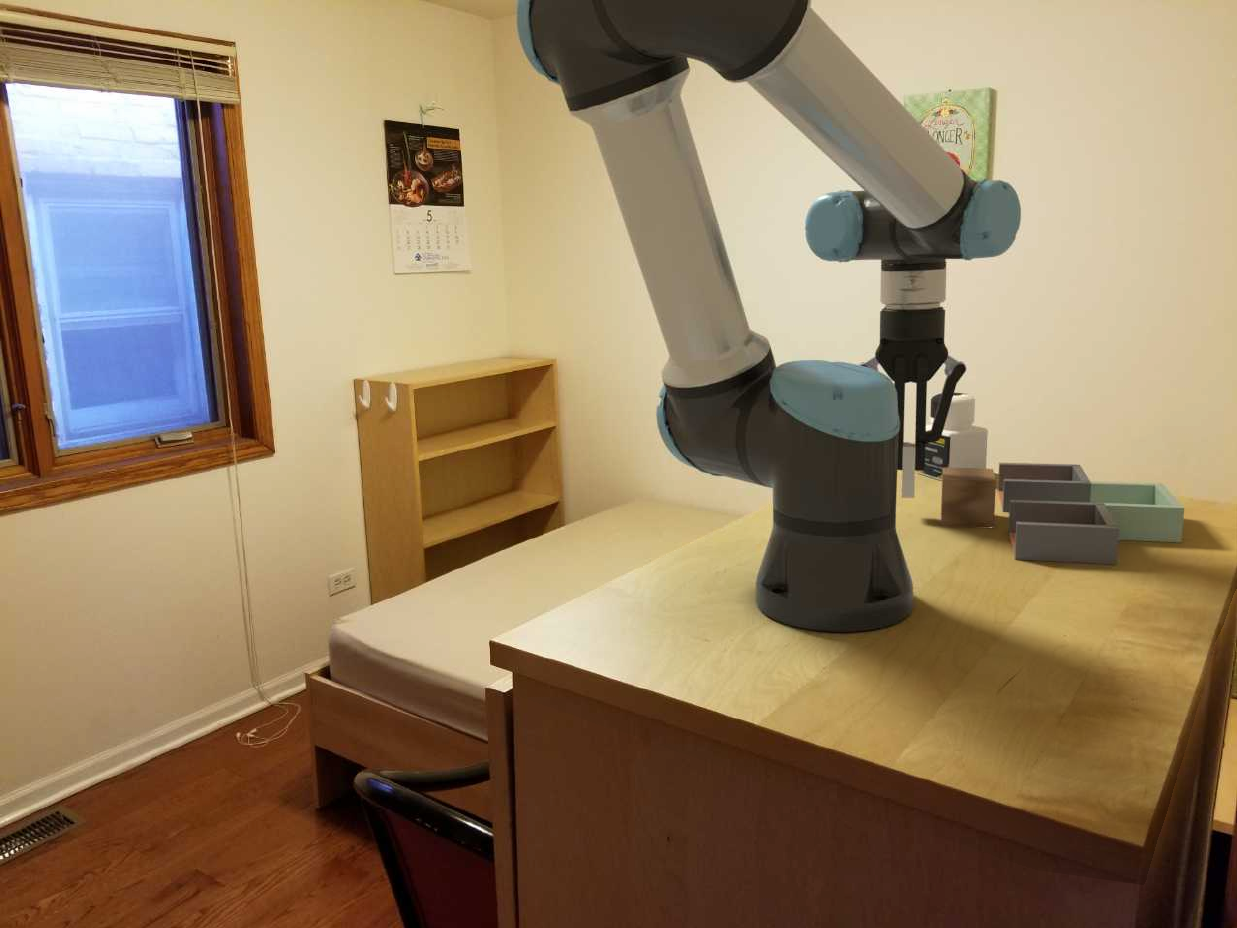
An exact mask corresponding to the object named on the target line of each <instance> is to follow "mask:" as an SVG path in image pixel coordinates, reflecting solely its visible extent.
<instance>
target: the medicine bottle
mask: <svg viewBox="0 0 1237 928" xmlns="http://www.w3.org/2000/svg"><path fill="white" fill-rule="evenodd" d="M941 394H942V392H941V393H937V394H935V395H933V396H932V397H931V399H930V417H929V420H930V421H929V422H930V423H931V424H926V431H929V430H931V428H932V425H933V422H934V418H935V415H936V411H937V408H938V404H939V401H940V397H941ZM975 404H976V399H975V397H974V396H972V395H970V394H968V393H963V392H954V394H953V398H952V401H951V405H950V408H949V412H948V415H947V418H946V422H945V425H944V429H943V432H942V435H941V438H940V440H939V441H933V442H930V443H928V444H927V445H926V447H925V467H924V469H923V471H916V470H915V474H918V475H921V476H925V477H927V478H931V479H935V480H938V481H941V482H942V468H976V469H987V457H988V454H987V453H988V433H989V432H988V431H989V430H988V428H986V427H981V426H975V425H973V424H974V423H975V410H976V409H975V408H976V405H975Z"/></svg>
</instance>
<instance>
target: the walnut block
mask: <svg viewBox="0 0 1237 928" xmlns="http://www.w3.org/2000/svg"><path fill="white" fill-rule="evenodd" d="M996 485H997V479H996V476H995V472H994V469H993V468H986V469H976V468H942V481H941V499H940V500H941V508H940V517H941V518H940V522H941V524H940V525H941V527H951V528H952V527H953V528H973V527H987V528H986V529H989V528H988V527H994V528H995V514H996V513H995V512H996V511H995V510H996V509H995V508H996V489H997V488H996V487H997V486H996Z"/></svg>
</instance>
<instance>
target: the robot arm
mask: <svg viewBox="0 0 1237 928" xmlns="http://www.w3.org/2000/svg"><path fill="white" fill-rule="evenodd" d="M516 1H517V2H516V9H515V18H516V29H517V35H518V40H519V43H520V45H521V47H522V50H523V53H524V55H525V56H526V58H527V60H528V61H529V63H530V65H531V66H532V67H533V69H534V70H535V71H536V72H537V73H538V74H539V75H543V76H545V78H546V79H547V81H549V82H552V83H553V84H556V85H558V86H560V88H561V90H562V93H563V96H564V99H565V102H566V105H567V106H566V107H567V108H568V110H569V113H570V115H571V116H573V117H575V118H577V119H579V120H581V121H582V122H584V123H586V124H588V125H589V126H590V127H591V128H592V130H593V133H594V136H595V139H596V142H597V145H598V149H599V151H600V154H601V157H602V159H603V163H604V165H605V168H606V172H607V175H608V177H609V181H610V184H611V187H612V189H613V192H614V195H615V198H616V202H617V204H618V207H619V211H620V213H621V217H622V219H623V222H624V226H625V228H626V230H627V233H628V237H629V239H630V242H631V245H632V249H633V252H634V255H635V257H636V260H637V264H638V266H639V269H640V273H641V275H642V278H643V281H644V285H645V286H646V289H647V292H648V296H649V299H650V302H651V304H652V308H653V312H654V314H655V317H656V319H657V323H658V325H659V329H660V331H661V334H662V337H663V339H664V344H665V346H666V349H667V352H668V355H669V356H668V359H667V361H666V363H665V364H664V366H663V368H662V370H661V379H662V383H663V384H662V386H661V389H660V390H659V391H660V392H659V395H658V397H659V398H660V403H659V404H657V406H656V412H655V413H656V414H655V415H656V423H657V428H658V431H659V434H660V437H661V440H662V442H663V443H664V445H665V447H666V448H667V449H668V451H669V453H671V454H672V455H673V457H675V458H676V459H677V460H678V461H679V462H681V463H682V464H684V465H686V466H689V467H691V468H693V469H696V470H698V471H699V472H701V473H703V474H709V475H711V476H716V477H725V478H726V477H727V478H730V479H734V480H739V481H742V482H746V483H751V484H754V485H758V486H761V487H765V488H770V489H772V528H771V532H770V536H769V539H768V542H767V546H766V548H765V551H764V554H763V557H762V561H761V563H760V565H759V568H758V572H757V575H756V578H755V579H756V581H755V603H756V604H755V605H756V606H757V608H758V609H759V610H760V612H762V613H763V614H764V615H766V616H768V617H769V618H770V619H772V620H775V621H777V622H780V623H783V624H786V625H789V626H793V627H796V628H802V629H806V630H812V631H824V632H837V633H838V632H840V633H841V632H843V633H845V632H863V631H871V630H876V629H880V628H881V629H882V628H885V627H888V626H892V625H894V624H897V623H899V622H901V621H903V620H904V619H906V618H907V617H908V616H910V614H911V613H912V611H913V609H914V608H913V607H914V584H913V581H912V577H911V574H910V571H909V568H908V564H907V560H906V559H905V555H904V551H903V549H902V546H901V542H900V539H899V537H898V533H897V526H896V524H897V523H896V521H897V519H896V518H897V491H898V489H897V488H898V471H901V473H902V474H901V476H902V477H901V478H902V479H901V498H907V499H915V486H916V483H915V480H916V479H915V477H916V476H915V475H916V471H923V469H924V467H925V447H926V445H927V444H928V443H930V442H933V441H939V440H940V438H941V435H942V432H943V429H944V425H945V422H946V418H947V415H948V412H949V408H950V405H951V401H952V398H953V394H954V393H955V390H956V387H957V384H958V383H959V382H960V380H961V378H962V377H963V376H964V374H965V373H966V371H967V366H966V364H965V362H964V361H958V359H955V358H954V357H952V356H950V355H949V350H948V347H947V346H946V344H945V332H946V331H945V329H946V309H944V307H943V306H941V304H942V303H944V302H945V301H946V300H947V299H946V297H947V295H946V294H947V290H946V289H947V260H963V261H964V260H965V261H971V260H973V259H974V260H975V259H985V258H987V259H988V258H995V257H998V256H1001V255H1003V254H1005V253H1006V252H1007V251H1008V250H1009V249H1010V248H1011V246H1013V244H1014V242H1015V241H1016V237H1017V234H1018V231H1019V230H1020V226H1021V219H1022V208H1021V202H1020V198H1019V196H1018V194H1017V193H1018V192H1017V190H1015V188H1014V187H1013V185H1012V184H1010V183H1009V182H1007V181H1004V180H1002V179H1001V180H999V179H997V180H996V179H995V180H993V179H992V180H991V179H989V178H982V179H980V180H974V179H972V178H971V176H969V175H968V174H967V173H966V171H965V170H964V169H962V168H961V166H960V165H959V163H957V162H956V161H955V159H953V158H952V156H951V155H949V153H948V152H947V151H946V150H945V148H943V147H942V146H941V145H940V144H939V143H938V141H936V140H935V138H934V137H933V136H932V135H931V134H930V133H929V132H928V131H927V130H926V128H924V126H922V124H921V123H920V122H919V121H918V120H917V119H916V118H915V116H913V115H912V114H911V113H910V112H909V110H907V109H906V107H905V106H904V105H903V104H902V103H901V102H900V101H899V100H898V98H896V97H895V96H894V94H893V93H891V91H890V90H889V89H888V88H887V87H886V86H885V84H883V83H882V82H881V81H880V80H879V78H877V76H876V75H875V74H874V73H873V72H872V71H871V70H870V69H869V68H868V67H867V66H866V65H865V64H864V63H863V62H862V60H861V59H860V58H859V57H858V56H857V54H855V53H854V52H853V51H852V50H851V48H849V46H848V45H847V44H846V43H845V42H844V41H843V40H842V39H841V38H840V37H839V36H838V35H837V34H836V33H835V32H834V31H833V30H832V29H831V27H830V26H829V25H828V24H827V23H826V22H825V21H824V20H823V19H822V18H821V17H820V15H819V14H818V13H817V12H816V11H815V10H814V9H813V8H812V7H811V6H812V5H811V4H812V0H516ZM688 59H692V60H695V61H699V62H701V63H704V64H706V65H707V66H709V67H711V69H713V71H715V72H716V73H718V74H719V76H720V77H721V78H722V79H724V80H725V81H727V82H728V83H732V84H733V83H734V84H740V83H744V82H746V83H747V84H748V85H749V86H751V87H752V88H753V89H754V90H755V91H756V92H757V93H758V94H759V95H760V96H761V97H762V98H764V99H765V101H766V102H768V103H769V104H770V105H771V106H772V107H774V109H775V110H777V112H779V113H780V114H781V115H782V116H783V117H784V118H785V119H787V121H789V122H790V124H792V125H793V126H794V127H795V128H796V129H797V130H798V131H799V132H800V133H801V134H802V135H804V136H805V137H806V138H807V139H808V140H809V141H810V142H811V143H812V144H813V145H815V146H816V147H817V148H818V149H819V150H820V151H821V152H822V153H823V154H824V155H826V156H827V157H828V158H829V160H831V162H833V163H834V164H835V165H837V167H838V168H840V169H841V170H842V171H843V172H844V173H845V174H846V175H847V176H848V177H850V178H851V179H852V180H853V182H855V183H856V184H857V185H858V186H859V187H860V188H862V189H863V190H849V189H845V190H839V191H834V192H833V191H832V192H827V193H825V194H822V195H821V196H819V197H817V198H816V199H815V200H814V202H813V203H812V204H811V206H810V208H809V209H808V212H807V213H806V218H805V222H804V223H805V227H804V229H805V238H806V242H807V245H808V247H809V249H810V250H811V252H812V253H813V254H814V255H815V256H816V257H817V258H819V259H820V260H823V261H826V262H838V263H849V262H851V261H872V260H873V261H876V260H877V261H880V299H879V300H880V303H881V304H882V305H885V306H884V307H883V308H881V310H880V312H879V344H878V346H877V348H876V350H875V352H874V356H873V357H871V358H870V359H868V360H867V361H862V362H861V363H859V364H855V363H851V362H845V361H828V360H823V359H802V360H800V359H799V360H793V361H786V362H783V363H781V364H780V365H778V366H777V364H776V360H775V356H774V353H773V350H772V347H771V344H770V341H769V339H768V338H767V337H766V336H765V335H762V334H760V333H758V332H756V331H754V330H751V329H750V326H749V321H748V319H747V316H746V313H745V309H744V305H743V302H742V299H741V295H740V292H739V288H738V285H737V282H736V279H735V275H734V271H733V269H732V266H731V261H730V259H729V255H728V252H727V249H726V245H725V244H726V243H725V241H724V238H723V234H722V232H721V228H720V224H719V222H718V219H717V216H716V212H715V208H714V205H713V201H712V198H711V194H710V191H709V189H708V188H709V187H708V185H707V182H706V178H705V175H704V171H703V167H702V164H701V161H700V158H699V154H698V151H697V148H696V144H695V140H694V138H693V134H692V131H691V128H690V127H691V126H690V123H689V121H688V118H687V112H686V110H685V107H684V104H683V100H682V97H681V95H682V90H683V87H684V85H685V83H686V80H687V79H688V76H689V74H690V72H691V68H690V65H689V64H690V63H689V60H688ZM943 364H944V365H945V366H944V367H945V368H944V370H943V371H944V374H945V376H946V377H945V381H944V384H943V387H942V390H941V393H942V394H941V393H940V394H941V397H940V401H939V404H938V408H937V411H936V415H935V418H934V422H933V425H932V424H931V425H932V428H931V430H929V431H926V425H927V394H928V391H927V390H928V388H927V387H928V382H929V381H930V380H932V378H933V377H934V376H935V375H936V373H937V372H938V371H939V370H940V368H941V367H942V366H943ZM878 365H879V366H881V368H882V369H883V371H884V372H885V373H886V374H884V373H883V372H881V371H879V369H878ZM907 383H914V384H916V389H915V390H916V391H915V395H916V397H915V430H914V432H915V435H914V436H915V437H914V439H915V441H914V442H913V441H905V440H904V439H905V434H904V433H905V399H906V398H905V395H906V394H905V393H906V384H907ZM904 441H905V442H904Z"/></svg>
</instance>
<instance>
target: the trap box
mask: <svg viewBox="0 0 1237 928" xmlns="http://www.w3.org/2000/svg"><path fill="white" fill-rule="evenodd" d="M1088 477H1089V476H1088V475H1087V474H1086V473H1085V471H1084V469H1083V468H1082V465H1081V464H1068V463H1030V462H1029V463H1028V462H1027V463H1025V462H998V479H997V493H998V496H999V501H1000V505H1001V509H1003V510H1002V512H1008V511H1009V512H1008V528H1007V529H1008V536H1009V540H1010V541H1009V542H1010V544H1011V548H1012V552H1013V556H1014V560H1021V561H1041V562H1055V563H1056V562H1058V563H1059V562H1060V563H1079V564H1094V565H1117V564H1118V553H1119V551H1118V550H1119V541H1140V542H1141V541H1142V542H1160V543H1182V541H1183V540H1182V538H1183V528H1184V527H1183V526H1184V516H1185V507H1184V506H1183V504H1182V503H1181V502H1180V501H1179V500H1178V499H1177V498H1176V497H1175V496H1174V495H1173V494H1172V492H1171V491H1170V490H1169V489H1168V488H1167V487H1166V485H1164V483H1163V482H1162V483H1159V482H1157V483H1156V482H1155V483H1154V482H1129V481H1127V482H1126V481H1125V482H1123V481H1120V482H1119V481H1118V482H1117V481H1090V479H1089V478H1088Z"/></svg>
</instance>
